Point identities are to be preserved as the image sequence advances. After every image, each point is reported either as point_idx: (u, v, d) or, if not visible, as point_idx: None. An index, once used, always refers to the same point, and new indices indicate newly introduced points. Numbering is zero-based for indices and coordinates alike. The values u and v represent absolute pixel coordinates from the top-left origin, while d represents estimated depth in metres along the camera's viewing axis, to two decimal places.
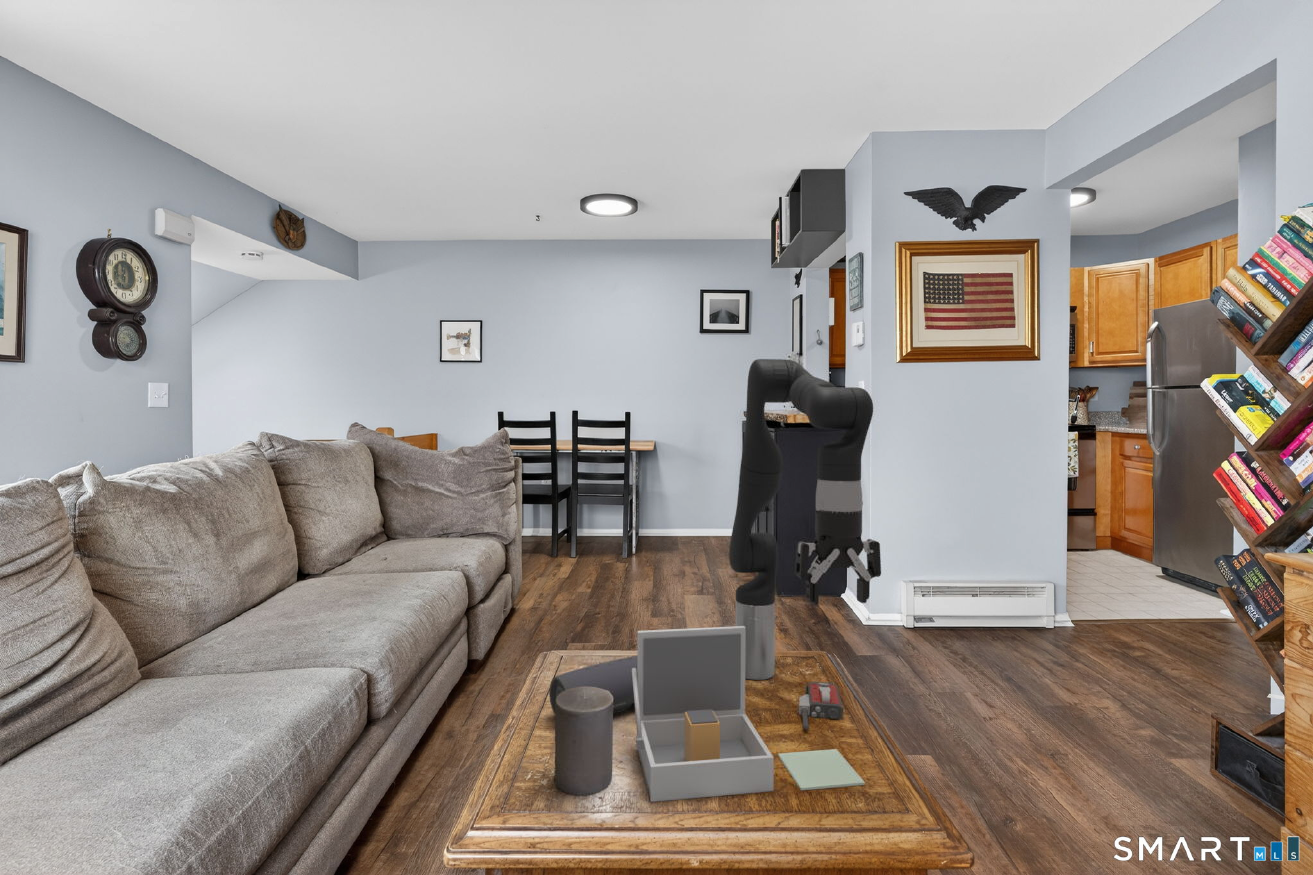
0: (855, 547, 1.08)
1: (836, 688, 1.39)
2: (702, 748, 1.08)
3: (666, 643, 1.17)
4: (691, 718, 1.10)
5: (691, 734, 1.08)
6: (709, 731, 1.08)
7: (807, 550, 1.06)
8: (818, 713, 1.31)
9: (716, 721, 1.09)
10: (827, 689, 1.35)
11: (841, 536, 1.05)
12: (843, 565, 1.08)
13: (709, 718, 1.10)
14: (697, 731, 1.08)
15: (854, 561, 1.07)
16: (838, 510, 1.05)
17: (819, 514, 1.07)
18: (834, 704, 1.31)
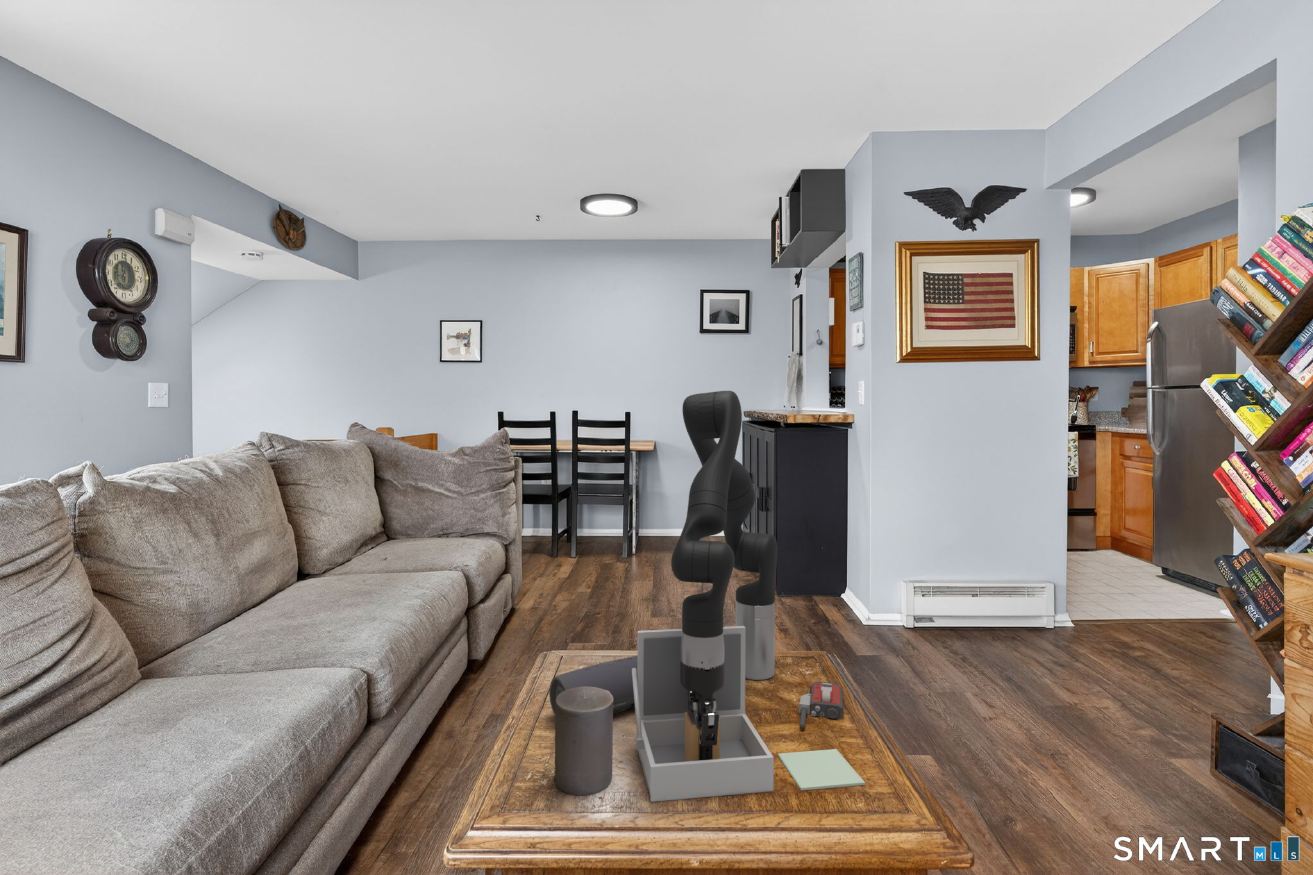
0: None
1: (840, 688, 1.39)
2: None
3: (666, 643, 1.17)
4: (691, 718, 1.10)
5: (691, 734, 1.08)
6: None
7: None
8: (818, 712, 1.31)
9: None
10: (829, 689, 1.35)
11: None
12: None
13: None
14: (697, 731, 1.08)
15: None
16: (724, 660, 1.09)
17: (711, 672, 1.07)
18: (834, 704, 1.31)
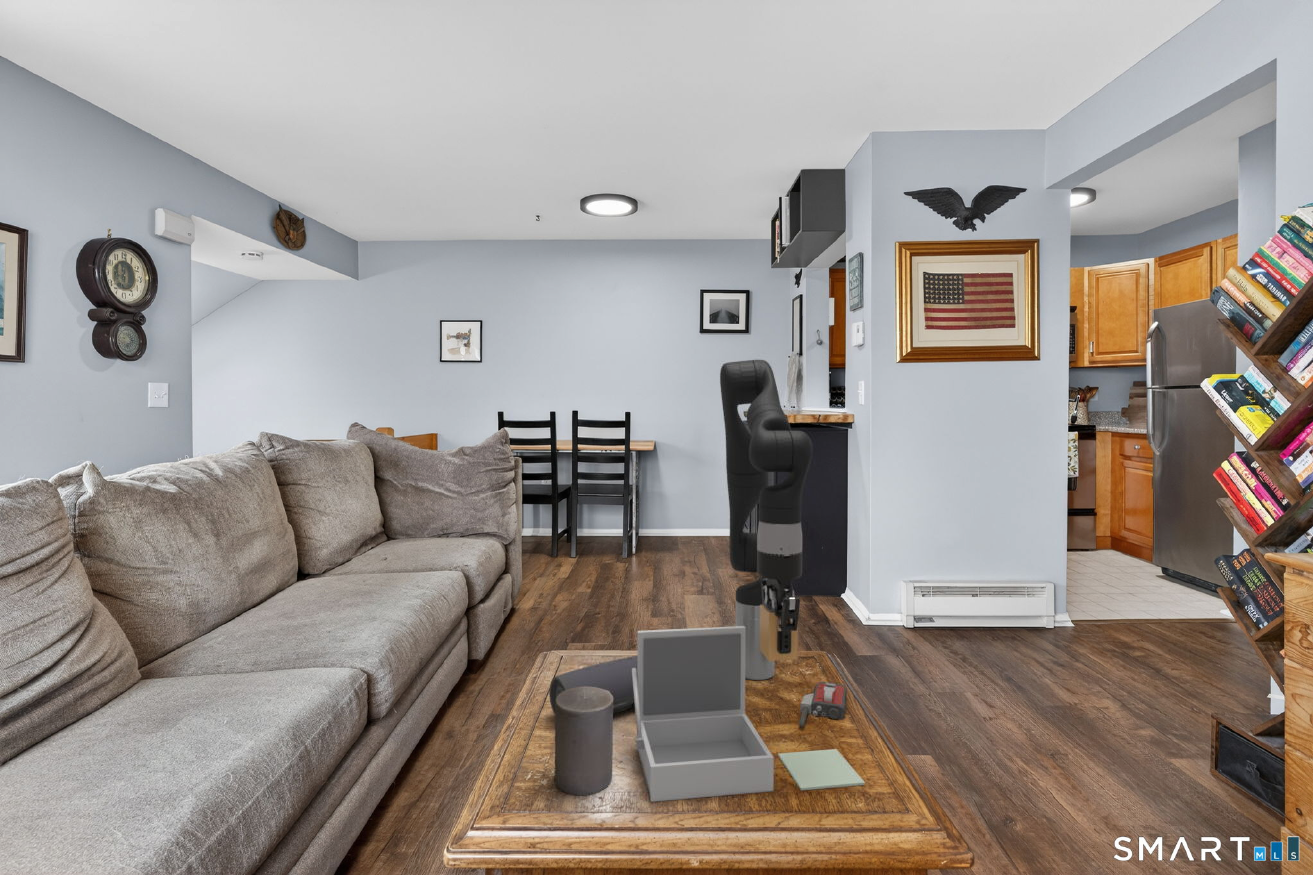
0: None
1: (844, 689, 1.39)
2: None
3: (666, 643, 1.17)
4: (768, 608, 1.10)
5: (769, 622, 1.08)
6: (787, 619, 1.08)
7: None
8: (819, 712, 1.32)
9: None
10: (831, 689, 1.35)
11: None
12: None
13: None
14: (775, 619, 1.08)
15: None
16: None
17: (790, 559, 1.07)
18: (835, 704, 1.31)
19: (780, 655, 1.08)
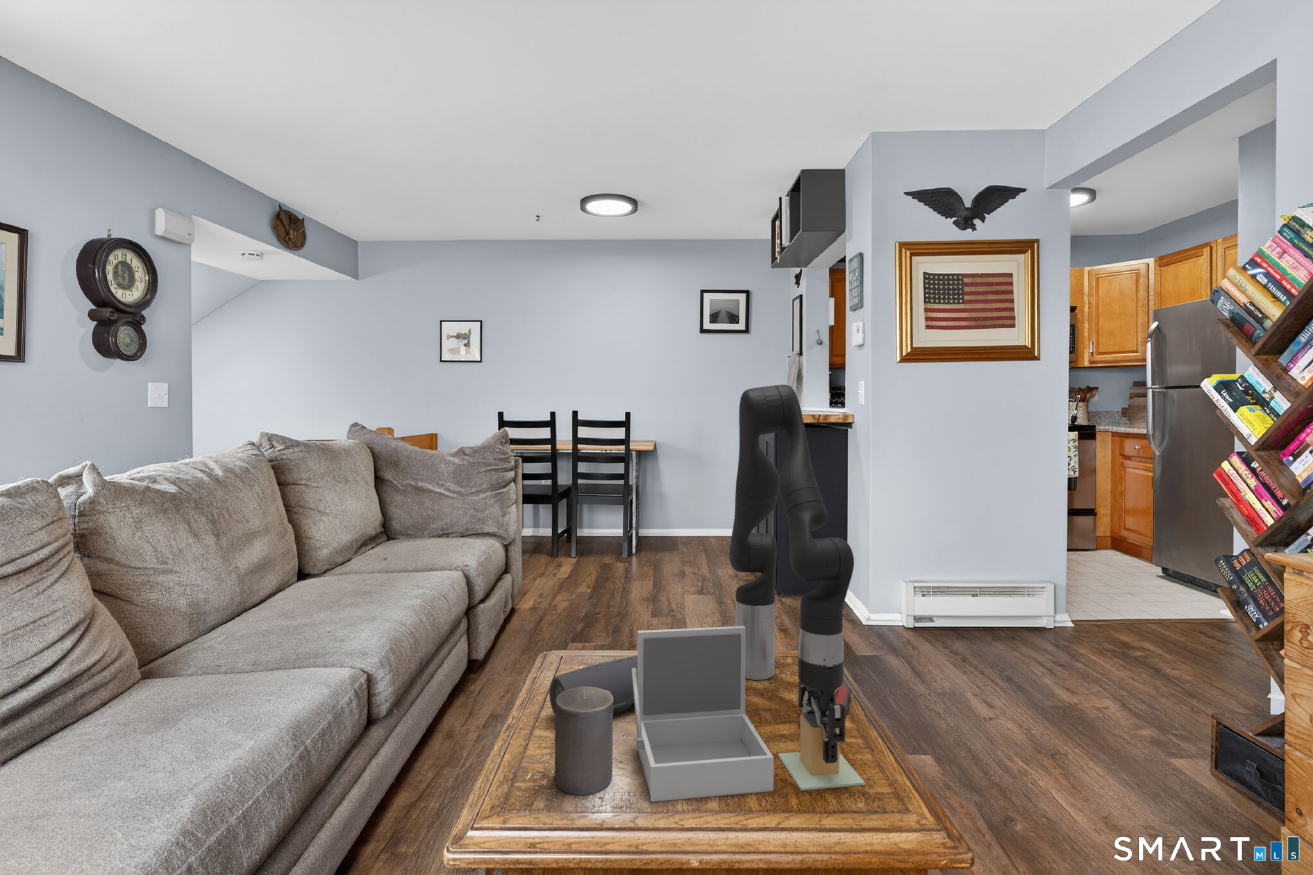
0: None
1: (847, 689, 1.39)
2: (822, 751, 1.09)
3: (666, 643, 1.17)
4: (810, 721, 1.10)
5: (812, 737, 1.08)
6: None
7: None
8: None
9: None
10: None
11: None
12: None
13: None
14: (818, 734, 1.09)
15: None
16: (843, 658, 1.10)
17: (833, 669, 1.07)
18: None
19: (822, 770, 1.09)
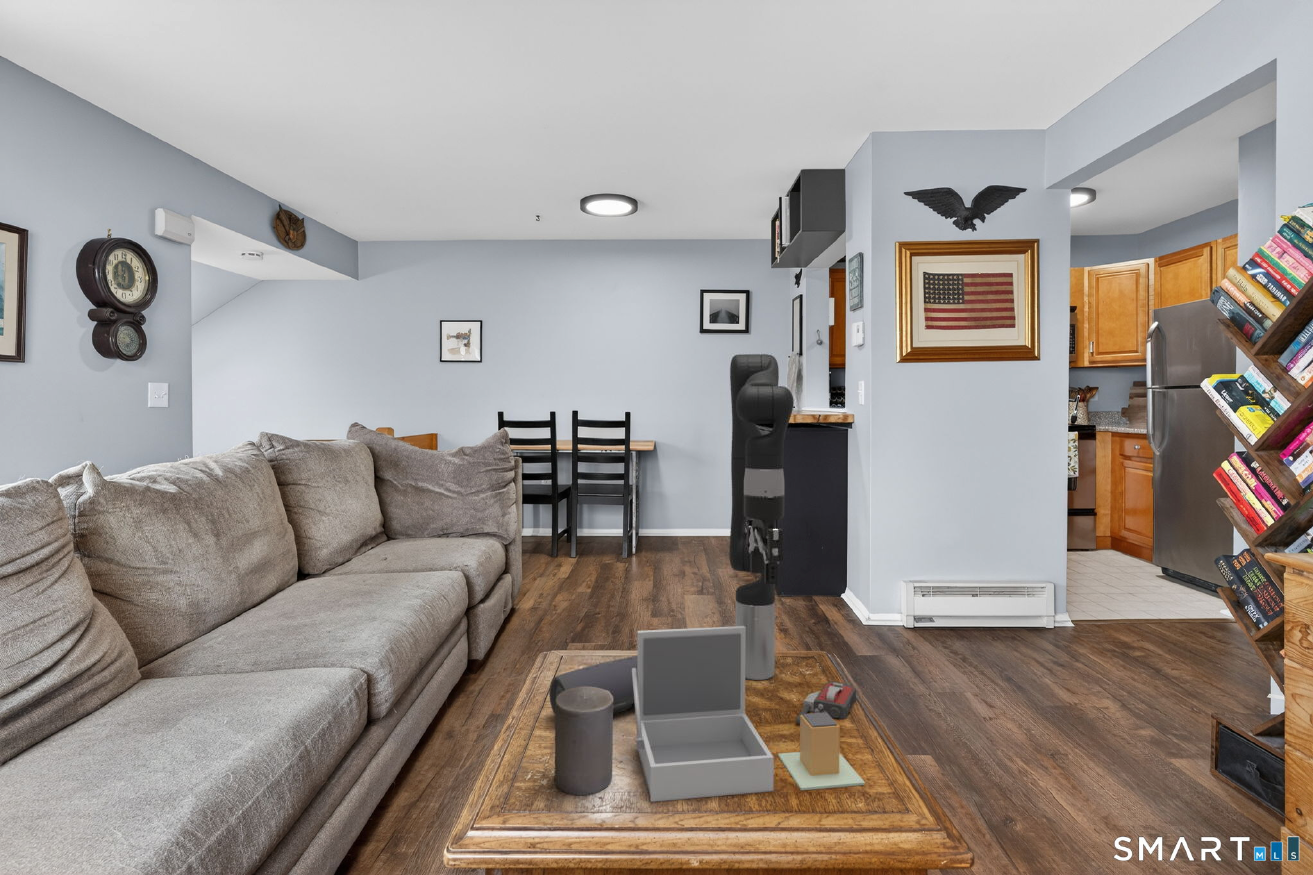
0: None
1: (852, 690, 1.38)
2: (822, 751, 1.09)
3: (666, 643, 1.17)
4: (810, 721, 1.10)
5: (812, 737, 1.08)
6: (829, 734, 1.09)
7: None
8: (821, 710, 1.32)
9: (835, 724, 1.09)
10: (836, 689, 1.35)
11: None
12: None
13: (828, 721, 1.10)
14: (818, 734, 1.09)
15: None
16: None
17: (773, 500, 1.18)
18: (837, 704, 1.31)
19: (822, 770, 1.09)
